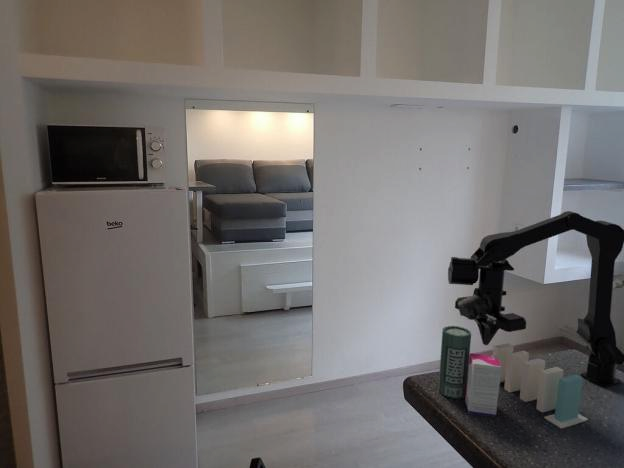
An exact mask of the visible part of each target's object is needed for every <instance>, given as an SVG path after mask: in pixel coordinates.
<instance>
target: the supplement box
mask: <svg viewBox="0 0 624 468" xmlns="http://www.w3.org/2000/svg"><path fill="white" fill-rule="evenodd" d="M500 375H501V365H500V363H499V361H498V359H497V357H496V356H492V355H490V354H488V355H487V354H482V353H481V354H479V353H473V352H472V353H471V352H470V354H469V366H468V377H467V386H466V395H465V397H464V402H465V405H466V411H467V414H471V415H479V416H486V417H495V418H496V417H497V412H498V411H497V410H498V401H499V391H500V384H501V382H500Z"/></svg>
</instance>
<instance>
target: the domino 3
mask: <svg viewBox="0 0 624 468" xmlns="http://www.w3.org/2000/svg"><path fill="white" fill-rule="evenodd" d="M545 367H546V360H544V359H542V358H536V359H530V360H528V361H525V362H523V371H522V381H521V390H519V391H520V392H519V400H521V401H523V402H524V403H526V402H531V401H535V400H537V398H538V389H539V381H540V372H541V370H546V369H545Z"/></svg>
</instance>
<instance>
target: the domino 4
mask: <svg viewBox="0 0 624 468" xmlns="http://www.w3.org/2000/svg"><path fill="white" fill-rule="evenodd" d="M559 378H564V369H563V368H560V367H559V366H553V367H551V368H547V369H545V370H541V372H540V381H539V389H538V398H537V399H536V407H535V409H536V410H538V411H539V412H541V413H545V412H549V411H553V410H555V409H556V401H557V393H558V385H559Z"/></svg>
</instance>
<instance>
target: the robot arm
mask: <svg viewBox="0 0 624 468" xmlns="http://www.w3.org/2000/svg"><path fill="white" fill-rule="evenodd" d="M569 231H575V232H578V233H581V234H583V235H585V236H586V244H587V247H588V250H589V253H590V256H591V264H590V265H591V266H590V279H589V293H588V294H589V295H588V307H587V308H588V309H587V314H586V316H585V317H584V318H577V324H578V325H577V330H576V334H577V335H578V337H579V340H580V341H581V342H582V343H583V344H584V346H585V349H586V350H588V351H589V352H590V353H589V355H588V360H587V366H586V372H581V373H580V375H579V376H580V377H582V378H583V379H584V378H585V379H586V380H589V381H591V382H593V383H595V384H597V385H598V386H601V387H603V388H608V387H611V386H616V385H619V384H622V380H620V379H618V378H616V374H617V370H618V369H617V368H618V367H617V366H618V365H620V366H621V365H623V364H624V353H623V352H622V351H621V349H619V347H618V346H617V337H616V335H617V334H616V330H615V328H614V324H613V321H612V319H611V314H612V301H613V289H614V288H613V287H614V277H615V266H616V265H615V264H616V263H615V262H616V260H617V258H618V256H619V255H620V254H621V252H622V251H623V248H624V229H623V228H622V226H621V225H618V224H616V223H613V222H608V221H606V220H594V219H591V218H588V217H586V216H582V215H581V214H580V213H577V212H574V211H572V210H571V211H570V210H567V211H564V212H562V213H560V214H558V215H556V216H553V217H549V218H548V219H544V220H542V221H540V222H537V223H534V224H532V225H528V226H525V227H523V228H520V229H517V230H514V231H508V232H499V233H494V234H489V235H486V236H484V237H483V238H482V239H481V241H480V243H479V247H478V248H476V249H477V250H476V251H474V253H472V255H471V256H470V258H467V257H466V258H465V257H464V258H463V257H457V256H456V257H455V256H452V257H450V262H449V265H448V269H447V281H448V284H449V285H462V286H473V285H474V284H476V283H477V282H478V287H475V288H474V290H473V294H472V295H470V296H463V297H462V296H461V297H458V298H457V299H456V300H455V304H454V308H455V309H456V310H458V311H459V315H460V316H462V317H465V318H467V319H468V320H470V321H471V320H472V321H473V320H474V322H475V323H476V325H477V327H478V330H479V331H478V332H479V334H480V338H481V341H482V345H484V346H488V345H489V344H490V343H491V342H492V340H493V338H494V336H495V335H496V334H497V332H498V331H499V330H502V331H504V332H508V333H511V332H517V331H522V330H526V328H527V319H526V318H525V317H524V316H522V315H519V314H516V313H514V312H511V313H510V312H508V313H502V312H505V310H506V306H504V305H503V304H502V303H503V296H507V291H506V290H504V282H505V271H509V272H510V271H511V272H513V271H515V268H514V266H512V265H511V264H510V262H509V260H507V259H508V258H510V257H512V256H514V255H515V254H516V253H517V252H519V251H520V250H521V249H524V248H525V247H528V246H531V245H534V244H536V243H538V242H542V241H544V240H545V241H546V240H547V239H551V238H552V237H553V238H554V237H555V236H558V235H562V234H564V233H566V232H569Z"/></svg>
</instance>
